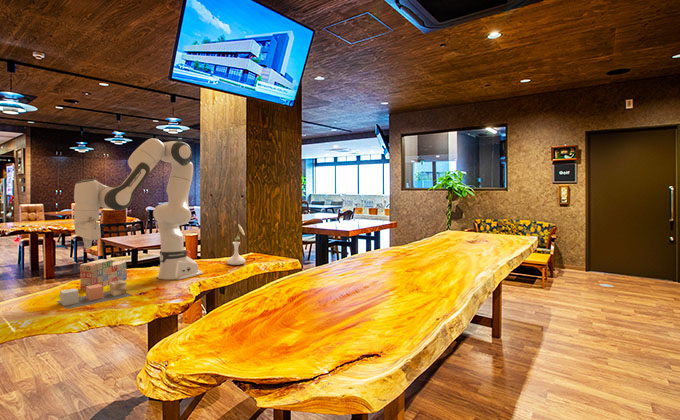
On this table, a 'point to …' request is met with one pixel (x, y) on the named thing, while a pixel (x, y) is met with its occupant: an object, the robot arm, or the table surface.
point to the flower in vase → (236, 251)
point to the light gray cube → (69, 296)
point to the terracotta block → (94, 292)
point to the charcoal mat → (85, 301)
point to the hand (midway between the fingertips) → (87, 248)
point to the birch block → (117, 287)
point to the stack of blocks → (102, 272)
